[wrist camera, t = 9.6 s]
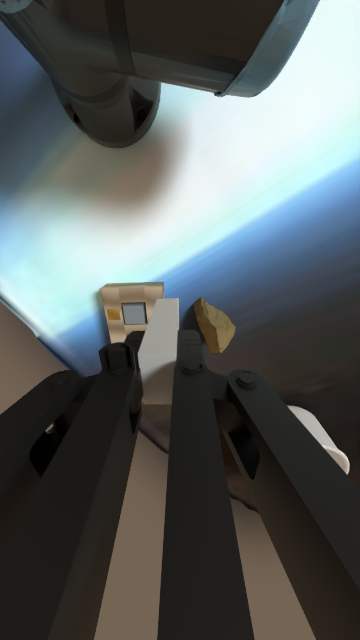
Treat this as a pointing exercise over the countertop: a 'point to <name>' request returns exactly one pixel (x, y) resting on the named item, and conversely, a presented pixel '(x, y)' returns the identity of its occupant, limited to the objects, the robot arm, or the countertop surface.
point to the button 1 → (135, 313)
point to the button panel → (127, 293)
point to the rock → (214, 326)
